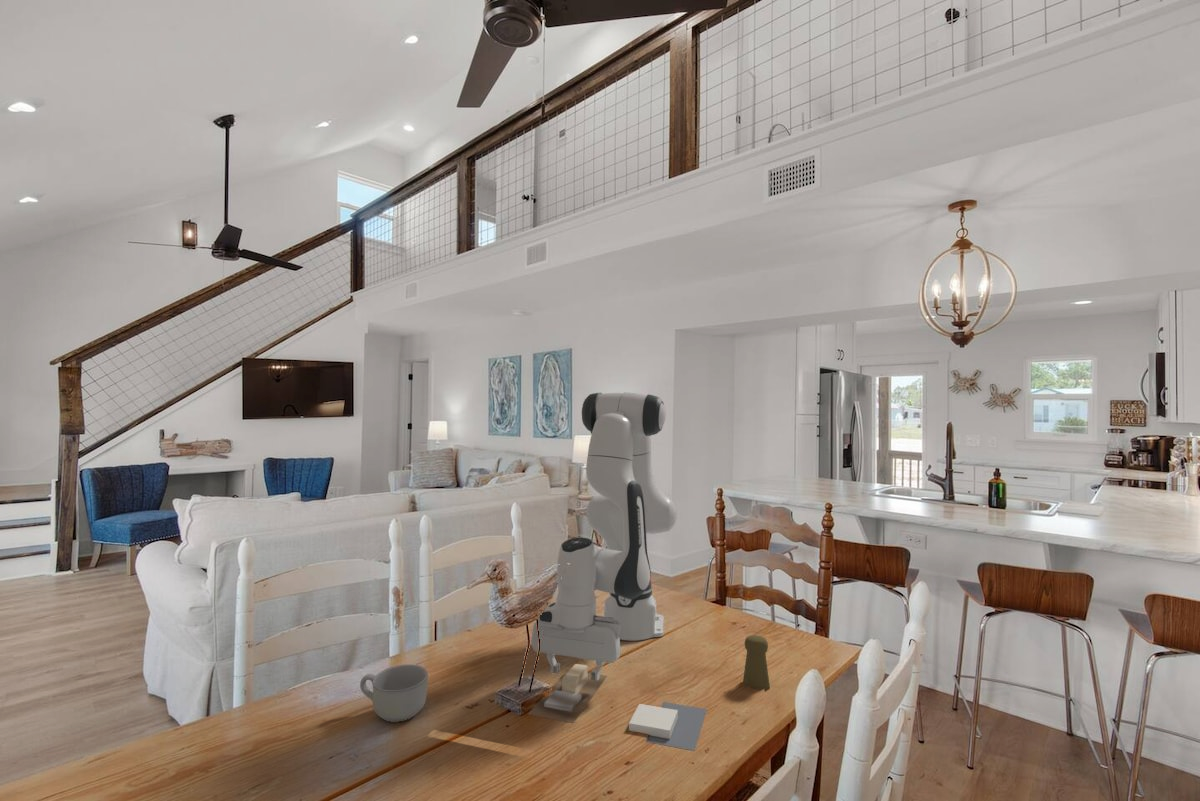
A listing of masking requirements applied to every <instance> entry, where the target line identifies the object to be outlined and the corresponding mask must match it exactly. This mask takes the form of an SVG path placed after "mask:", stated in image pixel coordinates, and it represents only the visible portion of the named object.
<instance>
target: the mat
mask: <svg viewBox="0 0 1200 801" xmlns="http://www.w3.org/2000/svg"><path fill="white" fill-rule="evenodd" d="M661 707H662V708H668V709H674V710H678V719H677V722H676V724H675V727H674V730H673V732H672V735H671V737H670V739H667V738H661V737H656V736H651V735H649V734H648V736H647V738H646V740H645V743H651V744H654V745H655V744H656V745H660V746H665V747H669V748H670V747H671V748H677V749H682V750H686V751H692V752H695V751H696V748H697V745H698V741H699V737H700V734H701V731H702V729H703V724H704V720H705V717H706V713H707V710H708V709H707V708H702V707H697V706H689V705H684V704H678V703H672V702H666V701H663V703H662V705H661Z"/></svg>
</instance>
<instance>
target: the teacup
mask: <svg viewBox="0 0 1200 801" xmlns="http://www.w3.org/2000/svg"><path fill="white" fill-rule="evenodd" d="M428 676H429V673H428V670H427V669H426V668H424V667H423V666H420V665H417V664H397V665H394V666H389V667H387V668H385V669H383V670H381V671H379V672H378V673H377V674H373V673H367V674H365V675H363V677H362V678H361V680H360V682H359V687H360V690H361V692H362V693H363V695H364V696H365V697H367V698H368V699H369V700H371V701H372V704H373V705H372V706H373V709H374V712H375V714H376V715H377V716H378V717H379V718H381V719H383V720H384V721H387V722H389V721H390V722H389V723H400V722H399V721H402V722H405V721H408V720H410V719H412V718H413V717H415V716H416V715H417V714H418V713H419V712H421V710H422V709H423V708H424V706H425V704H426V701H427V696H428V678H429V677H428ZM367 681H370V682H371V683H372V691H371V689H370V688H369V687H368V686H367ZM411 717H412V718H411ZM407 719H408V720H407ZM404 720H405V721H404Z"/></svg>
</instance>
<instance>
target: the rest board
mask: <svg viewBox="0 0 1200 801" xmlns="http://www.w3.org/2000/svg"><path fill="white" fill-rule="evenodd" d="M569 670H570V669H567V670H565V671H564V673H563V674H562V675H561V676H560V677H559V678H558V680H557V681H556V682H555V683H554V684H553V685H552V686H551V687H552V690H551V693H550V694H549V695H547V696H546V697H545V698H543V699H542V698H541V699H540V700H538V702H537V703H536V704H535V705H534V707H532V709H531V710H530V711H529V712H527V715H528V716H534V717H539V718H544V719H545V718H546V719H549V720H553V721H554V720H555V721H559V722H560V721H561V722H566V723H571V724H574V723H575V722H576V721H577V719H578V718H579V716H580V715H581V714H582V713H583V711H584V709H585V708H586V707H587V706H588V704H589V702H590V701H591V700H592V698H593V697H594V696H595V694H596V693H597V691H598V690H599V689H600V687H601V686H602V684H603V683H604V681H605V680H606V678H607V677H608V675H603V674H600V677H599V679H598V680H592V679H591V677H592V676H591V672H588V681H587V683H586V684H585V685H584V686H583V688H582V689H581V690H580V691H579V693H578V694H581V695H582V698H581V700H580V701H579V702H578V704H577V705H576V706H575V708H574V709H573V710H572V711H571V712H570V711H564V710H559V709H554V708H548V707H544V703H545V702H546V701H547V699H548V698H549V697H550V696H551V695H552V694H553V693H554V691H555V690H558V691H562V678H563V677H564V676H565V675H566V674H567V673H568V672H569Z"/></svg>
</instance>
